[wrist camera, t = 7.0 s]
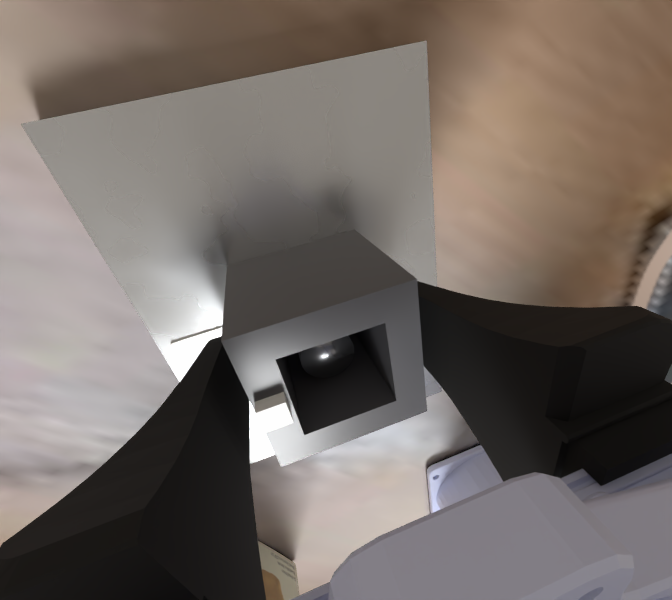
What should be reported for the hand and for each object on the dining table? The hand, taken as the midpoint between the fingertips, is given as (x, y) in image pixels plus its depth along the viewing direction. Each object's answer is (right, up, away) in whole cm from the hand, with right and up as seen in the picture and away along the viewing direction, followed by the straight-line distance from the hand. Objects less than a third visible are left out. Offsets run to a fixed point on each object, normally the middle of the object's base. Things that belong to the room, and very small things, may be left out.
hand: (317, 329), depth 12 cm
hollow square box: (0, +1, +2) cm, 2 cm away
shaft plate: (-1, +1, +3) cm, 3 cm away
